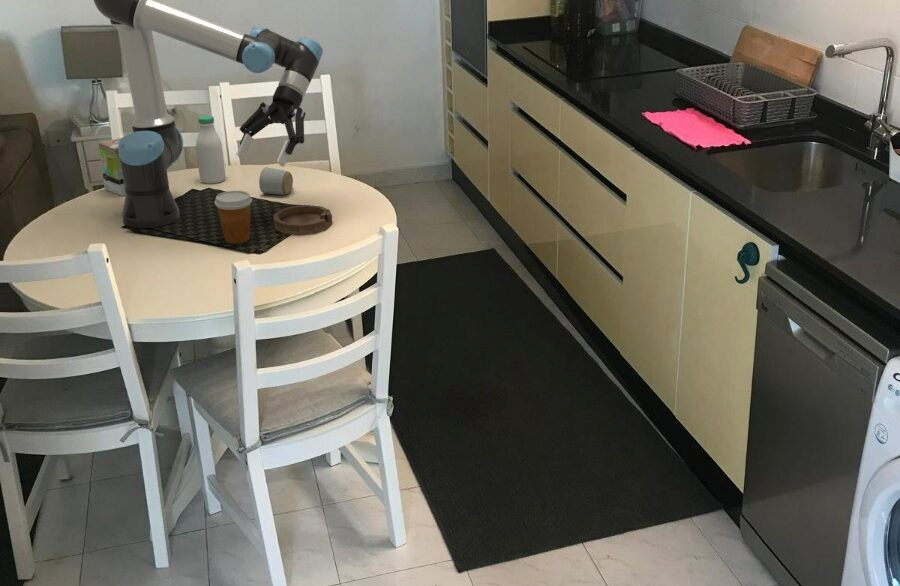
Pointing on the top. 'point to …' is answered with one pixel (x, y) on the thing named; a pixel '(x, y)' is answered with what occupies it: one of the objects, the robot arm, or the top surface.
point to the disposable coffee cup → (234, 215)
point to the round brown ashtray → (302, 220)
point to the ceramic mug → (275, 181)
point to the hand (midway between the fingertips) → (259, 160)
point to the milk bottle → (209, 152)
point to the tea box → (111, 166)
